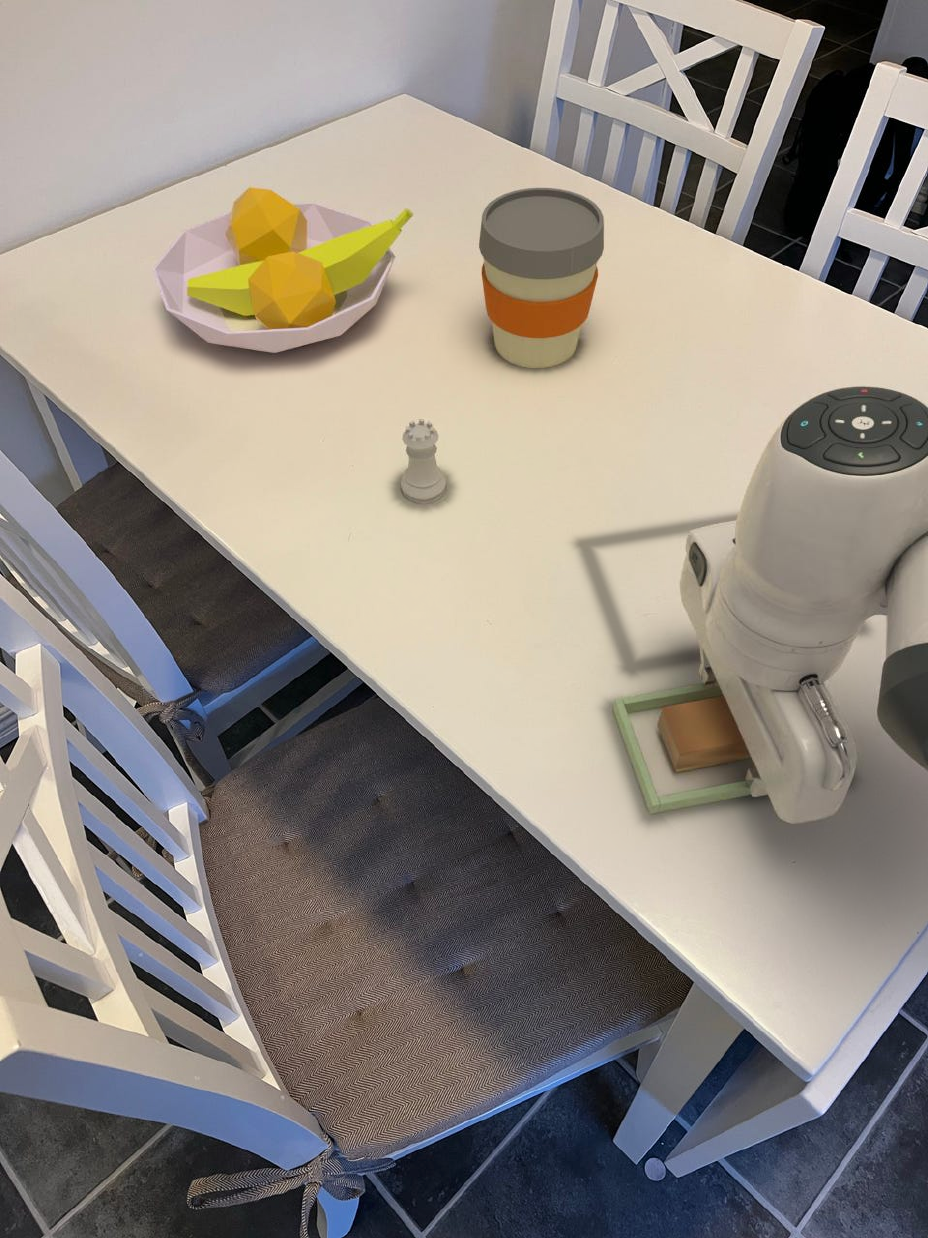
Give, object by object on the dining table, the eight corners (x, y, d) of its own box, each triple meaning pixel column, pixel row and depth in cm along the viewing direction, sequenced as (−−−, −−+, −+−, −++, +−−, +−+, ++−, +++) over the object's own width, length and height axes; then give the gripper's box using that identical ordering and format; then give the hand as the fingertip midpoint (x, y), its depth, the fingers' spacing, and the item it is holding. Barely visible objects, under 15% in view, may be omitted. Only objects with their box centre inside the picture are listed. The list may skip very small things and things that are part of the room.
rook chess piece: (452, 481, 88) (450, 416, 82) (439, 513, 86) (436, 449, 79) (409, 473, 89) (403, 408, 83) (394, 504, 86) (388, 440, 80)
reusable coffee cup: (513, 302, 106) (517, 175, 94) (610, 334, 102) (628, 205, 90) (458, 360, 100) (455, 230, 88) (559, 396, 96) (571, 266, 84)
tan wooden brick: (775, 709, 71) (788, 683, 68) (797, 753, 69) (811, 728, 66) (654, 732, 70) (662, 707, 67) (671, 778, 68) (680, 753, 65)
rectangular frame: (792, 680, 74) (798, 666, 72) (842, 780, 68) (851, 767, 66) (611, 712, 72) (614, 699, 70) (648, 818, 66) (652, 805, 65)
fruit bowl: (129, 363, 100) (95, 269, 91) (226, 235, 116) (204, 144, 107) (372, 400, 96) (361, 305, 87) (437, 261, 112) (433, 169, 103)
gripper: (908, 751, 51) (834, 851, 62) (765, 500, 64) (724, 620, 75) (803, 772, 51) (747, 869, 62) (679, 514, 63) (650, 633, 74)
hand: (733, 731), depth 68 cm, fingers open, 8 cm apart
